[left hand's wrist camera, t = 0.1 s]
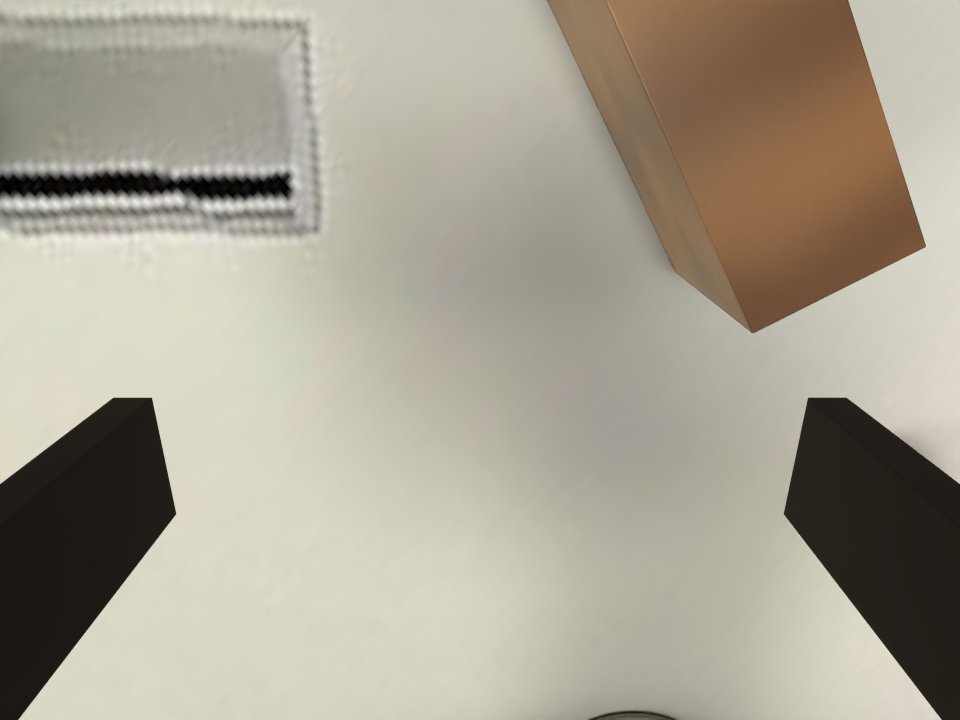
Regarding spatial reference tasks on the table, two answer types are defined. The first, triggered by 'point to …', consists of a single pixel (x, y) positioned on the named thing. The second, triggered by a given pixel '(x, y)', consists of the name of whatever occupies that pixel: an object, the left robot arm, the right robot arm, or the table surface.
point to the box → (749, 143)
